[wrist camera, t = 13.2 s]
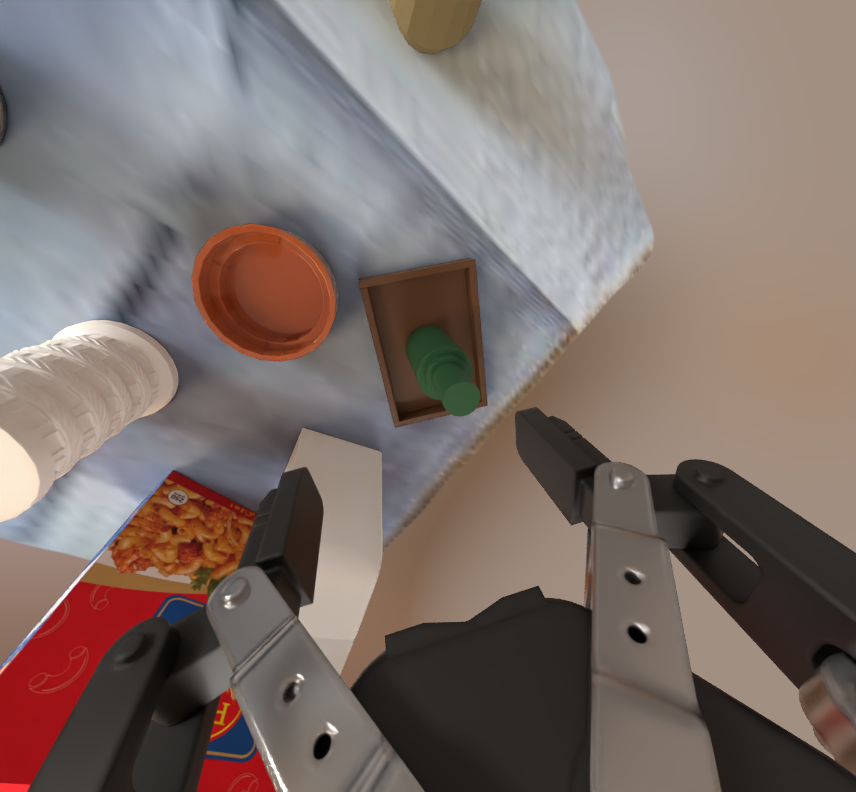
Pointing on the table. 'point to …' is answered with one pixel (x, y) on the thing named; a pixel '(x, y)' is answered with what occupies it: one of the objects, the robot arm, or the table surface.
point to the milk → (342, 538)
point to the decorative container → (73, 402)
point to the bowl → (265, 291)
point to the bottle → (442, 369)
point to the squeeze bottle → (434, 22)
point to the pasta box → (120, 611)
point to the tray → (412, 308)
